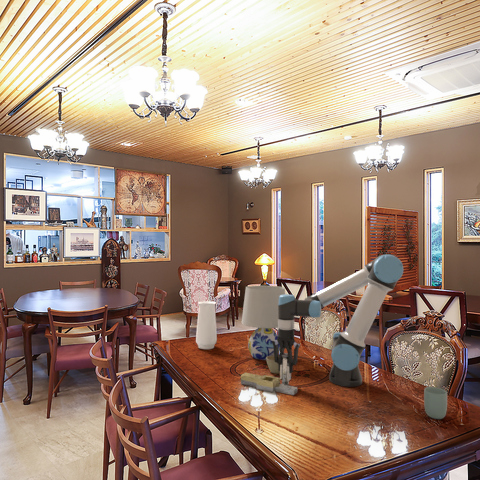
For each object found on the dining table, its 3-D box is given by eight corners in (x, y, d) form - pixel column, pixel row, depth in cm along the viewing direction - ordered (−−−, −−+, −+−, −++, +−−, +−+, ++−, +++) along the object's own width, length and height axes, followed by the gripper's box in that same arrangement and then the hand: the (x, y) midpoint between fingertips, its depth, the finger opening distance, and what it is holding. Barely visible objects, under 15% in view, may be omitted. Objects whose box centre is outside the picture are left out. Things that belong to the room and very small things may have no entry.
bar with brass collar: (298, 390, 170) (298, 381, 170) (292, 396, 163) (292, 387, 163) (247, 379, 182) (247, 371, 182) (238, 385, 175) (239, 376, 175)
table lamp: (286, 365, 206) (287, 290, 207) (237, 361, 211) (238, 289, 212) (288, 351, 233) (289, 286, 234) (244, 349, 238) (245, 284, 238)
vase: (194, 345, 245) (194, 301, 245) (213, 344, 249) (214, 300, 249) (198, 350, 232) (198, 304, 233) (218, 349, 236) (219, 303, 237)
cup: (426, 410, 150) (427, 385, 151) (449, 416, 146) (449, 390, 146) (421, 417, 144) (421, 390, 145) (444, 423, 140) (444, 396, 140)
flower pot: (284, 376, 189) (285, 361, 189) (264, 374, 191) (264, 360, 191) (286, 369, 198) (286, 355, 199) (267, 368, 200) (267, 354, 201)
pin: (291, 384, 178) (291, 353, 178) (287, 386, 174) (288, 355, 174) (283, 382, 180) (283, 352, 180) (279, 385, 176) (280, 354, 176)
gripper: (305, 328, 177) (304, 379, 176) (273, 324, 185) (273, 373, 184) (299, 331, 170) (298, 384, 170) (267, 327, 178) (266, 378, 178)
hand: (285, 378), depth 177 cm, fingers closed on pin, 3 cm apart
